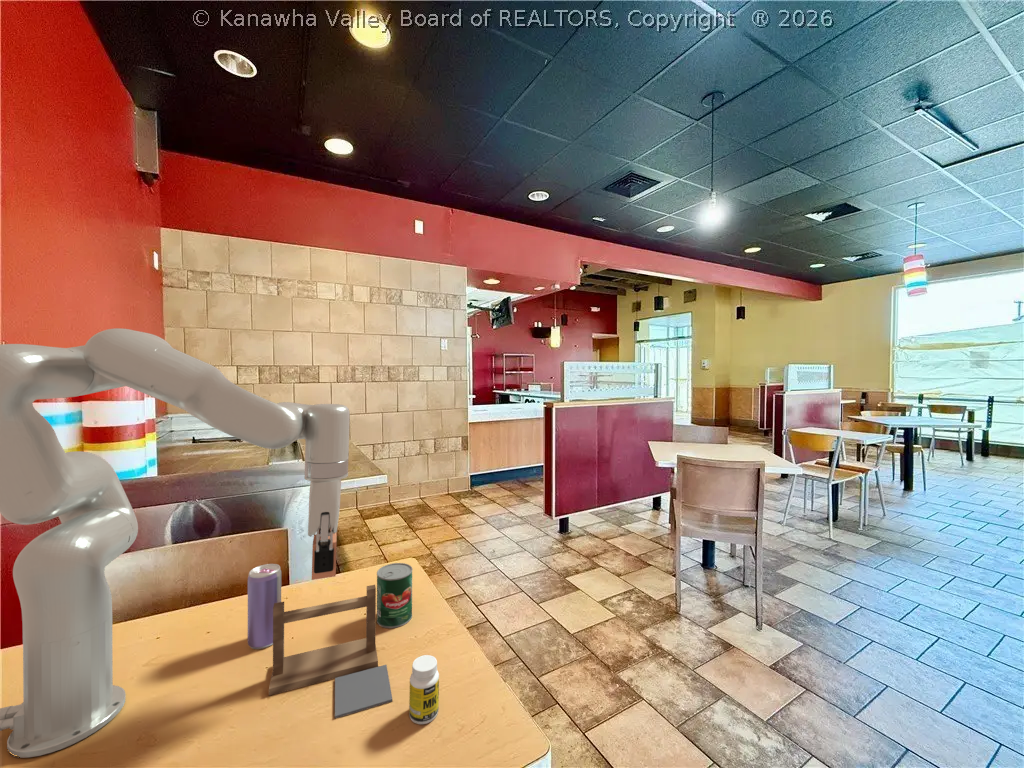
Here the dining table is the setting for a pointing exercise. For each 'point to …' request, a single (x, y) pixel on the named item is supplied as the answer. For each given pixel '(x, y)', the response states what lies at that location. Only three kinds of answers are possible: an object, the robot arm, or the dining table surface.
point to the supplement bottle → (424, 690)
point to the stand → (324, 660)
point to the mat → (362, 691)
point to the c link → (333, 572)
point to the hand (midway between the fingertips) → (324, 563)
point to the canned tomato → (394, 595)
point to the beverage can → (262, 604)
